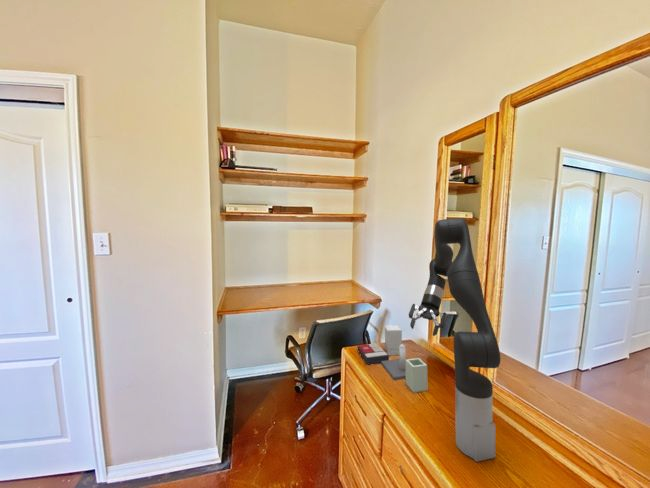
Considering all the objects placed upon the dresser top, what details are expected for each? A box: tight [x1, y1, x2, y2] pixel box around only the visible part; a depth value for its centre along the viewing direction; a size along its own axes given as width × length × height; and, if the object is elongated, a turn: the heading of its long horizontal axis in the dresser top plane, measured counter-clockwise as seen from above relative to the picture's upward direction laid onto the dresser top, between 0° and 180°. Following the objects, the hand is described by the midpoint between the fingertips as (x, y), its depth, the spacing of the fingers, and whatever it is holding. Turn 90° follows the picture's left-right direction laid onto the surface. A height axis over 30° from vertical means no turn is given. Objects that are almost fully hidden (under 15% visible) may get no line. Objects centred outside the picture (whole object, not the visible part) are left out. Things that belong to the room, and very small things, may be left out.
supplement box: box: [384, 324, 403, 356], centre depth 136 cm, size 7×7×13 cm
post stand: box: [381, 343, 409, 381], centre depth 119 cm, size 14×13×12 cm
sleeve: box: [405, 357, 429, 393], centre depth 106 cm, size 6×6×10 cm
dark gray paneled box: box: [357, 342, 390, 366], centre depth 132 cm, size 11×4×15 cm
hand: (422, 331), depth 109 cm, fingers open, 8 cm apart
